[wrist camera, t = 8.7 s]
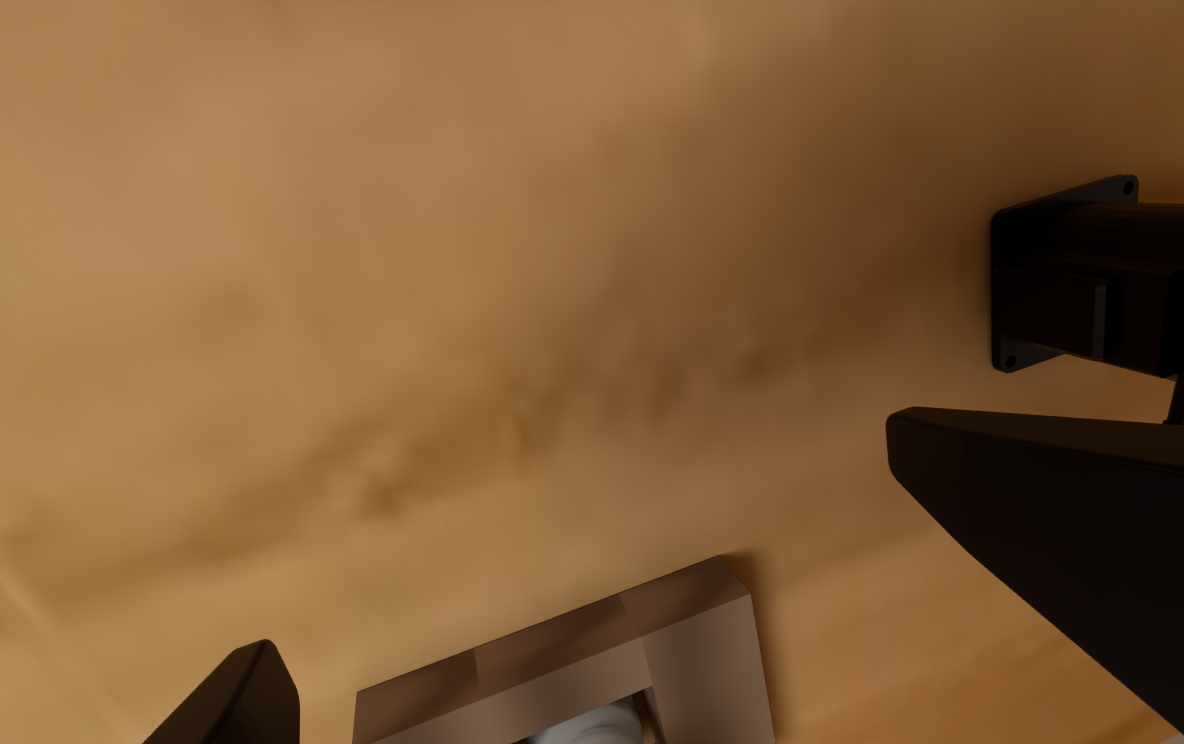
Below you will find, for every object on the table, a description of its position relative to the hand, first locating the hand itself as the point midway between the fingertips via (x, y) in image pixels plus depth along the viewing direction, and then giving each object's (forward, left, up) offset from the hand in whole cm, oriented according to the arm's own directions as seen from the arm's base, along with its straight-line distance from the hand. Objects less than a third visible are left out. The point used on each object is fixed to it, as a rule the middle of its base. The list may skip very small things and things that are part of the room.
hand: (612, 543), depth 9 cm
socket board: (+1, +16, -12) cm, 20 cm away
